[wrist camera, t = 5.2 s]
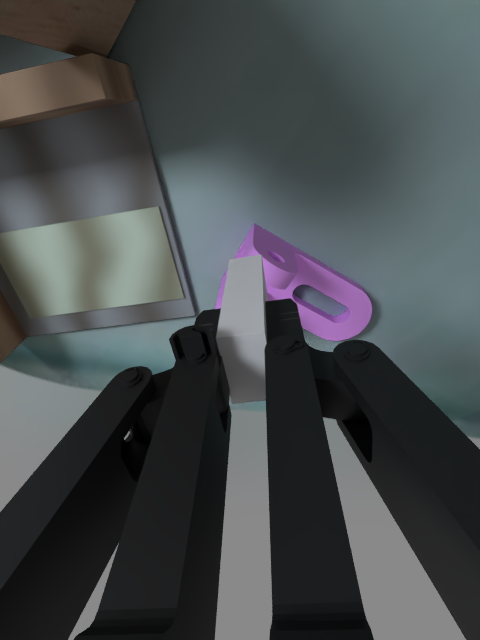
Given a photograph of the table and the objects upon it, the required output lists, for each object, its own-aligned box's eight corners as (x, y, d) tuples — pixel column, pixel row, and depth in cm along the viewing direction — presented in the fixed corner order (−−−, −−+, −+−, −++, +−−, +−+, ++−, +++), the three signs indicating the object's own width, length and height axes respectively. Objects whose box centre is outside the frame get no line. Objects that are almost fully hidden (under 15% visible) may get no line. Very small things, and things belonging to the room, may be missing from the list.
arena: (11, 336, 35) (-31, 374, 30) (-116, 121, 26) (-210, 124, 21) (196, 312, 33) (183, 350, 28) (129, 65, 23) (91, 52, 18)
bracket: (222, 277, 31) (212, 317, 25) (254, 222, 28) (252, 252, 22) (341, 341, 34) (358, 391, 28) (381, 297, 31) (409, 341, 25)
